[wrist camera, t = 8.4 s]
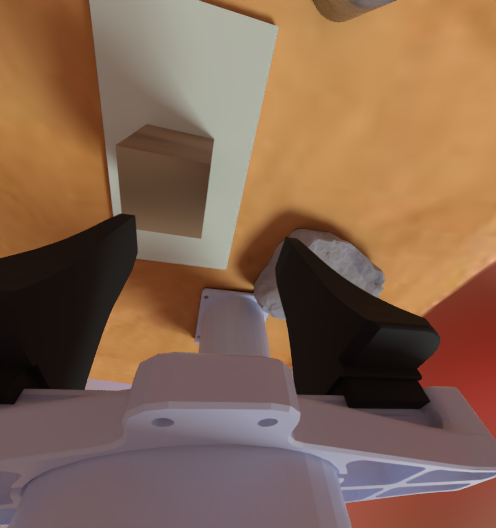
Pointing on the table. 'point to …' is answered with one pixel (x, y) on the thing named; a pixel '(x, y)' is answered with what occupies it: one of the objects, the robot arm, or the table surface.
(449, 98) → the table surface
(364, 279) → the stone block
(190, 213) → the walnut block
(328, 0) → the steel cylinder
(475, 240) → the table surface
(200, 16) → the sage mat
